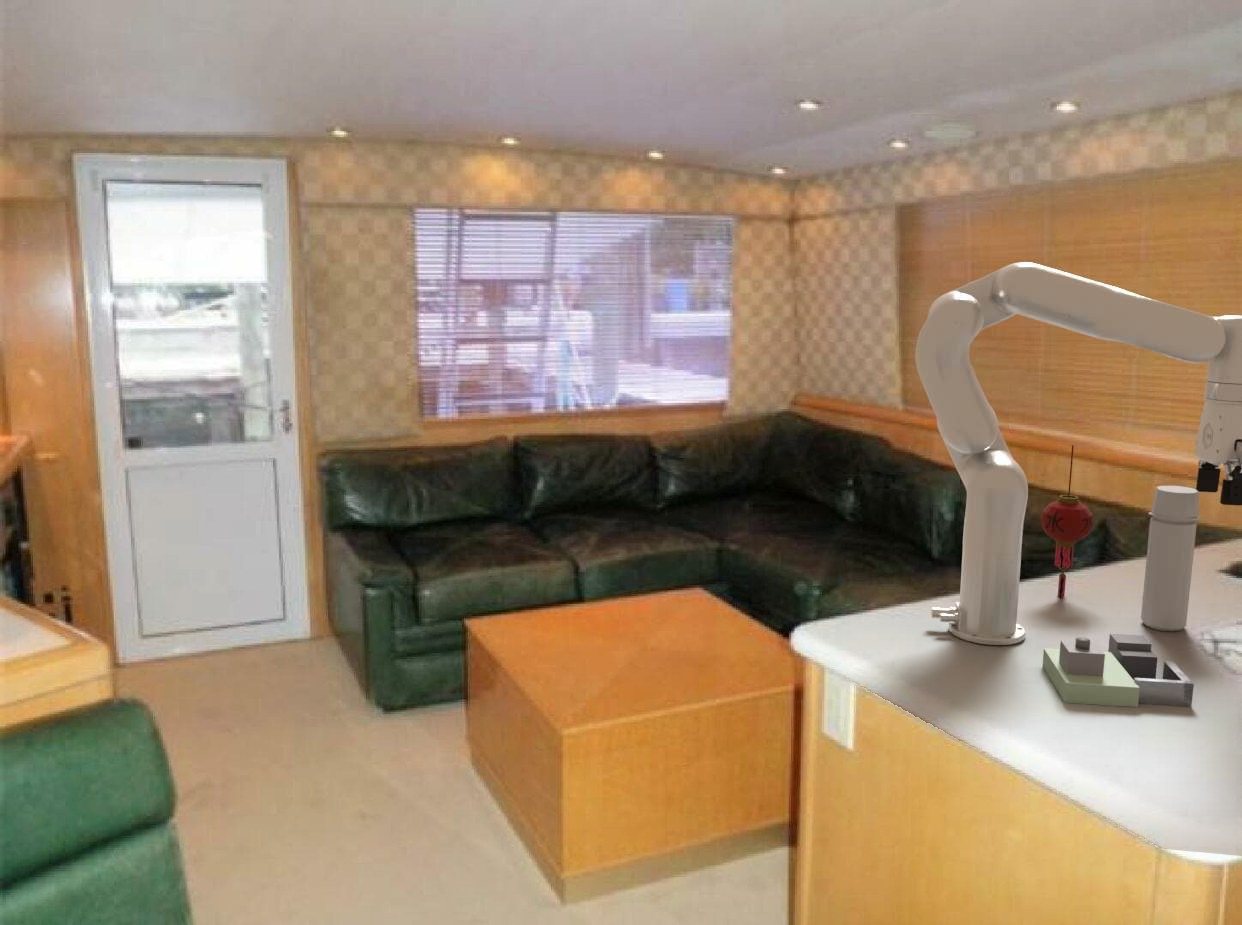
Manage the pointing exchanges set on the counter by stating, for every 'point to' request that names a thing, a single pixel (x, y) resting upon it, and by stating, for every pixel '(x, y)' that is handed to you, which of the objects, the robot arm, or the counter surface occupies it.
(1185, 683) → the side bracket
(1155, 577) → the water bottle
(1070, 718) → the counter surface
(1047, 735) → the counter surface
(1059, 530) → the lantern
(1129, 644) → the gray stepped block
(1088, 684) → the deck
